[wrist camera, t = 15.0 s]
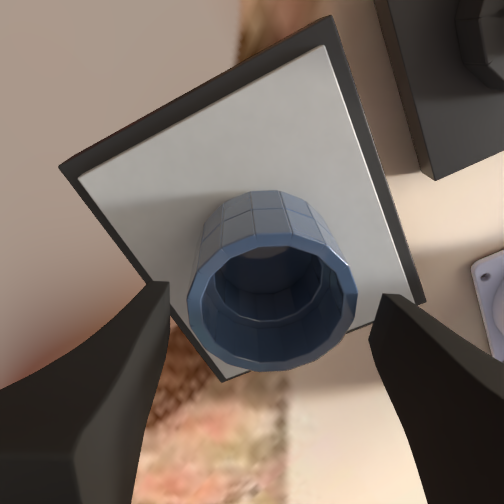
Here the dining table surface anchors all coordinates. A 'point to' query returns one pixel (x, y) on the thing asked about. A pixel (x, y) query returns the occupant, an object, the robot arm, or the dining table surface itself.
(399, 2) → the block
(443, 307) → the dining table surface
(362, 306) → the scale
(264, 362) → the cup
